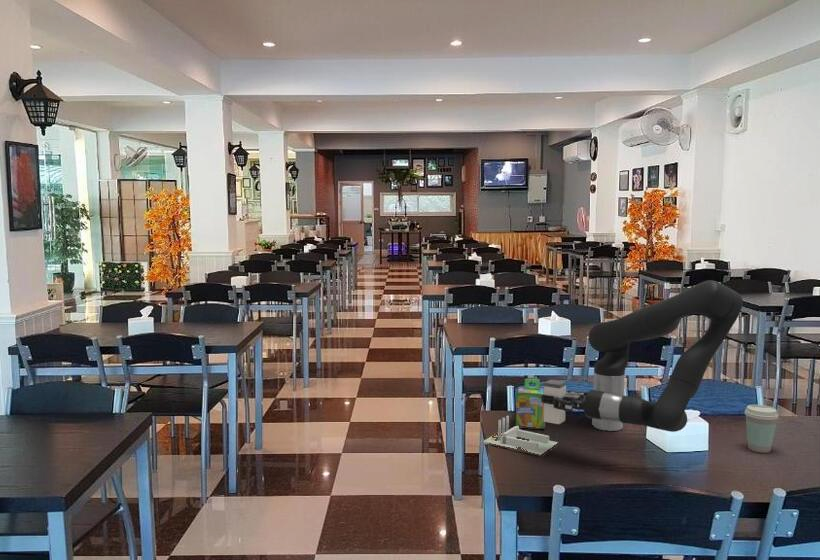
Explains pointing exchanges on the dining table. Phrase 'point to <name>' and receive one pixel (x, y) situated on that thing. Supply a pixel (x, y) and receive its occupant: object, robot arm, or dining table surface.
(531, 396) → the chalk box
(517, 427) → the header socket
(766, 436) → the coffee cup
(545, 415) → the block
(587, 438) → the dining table surface
